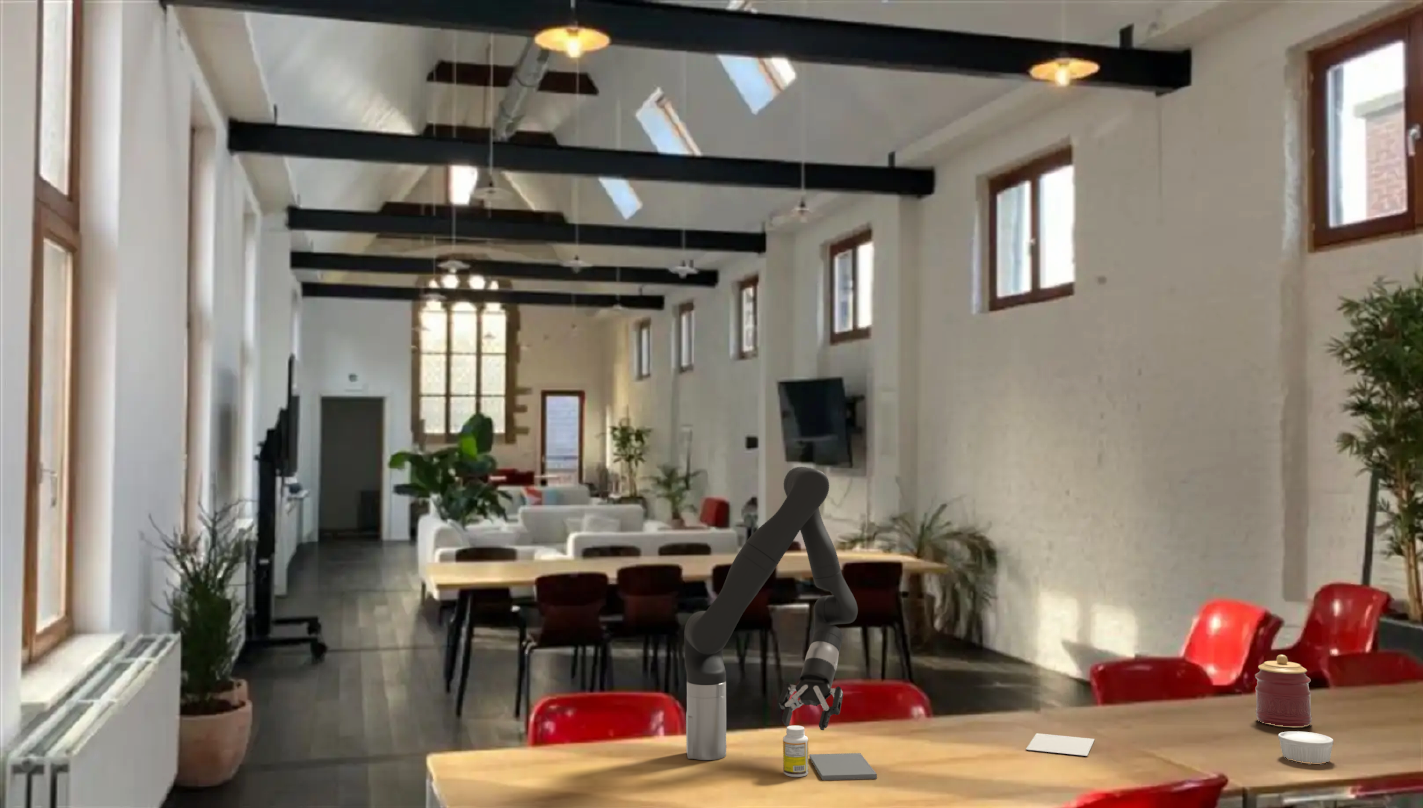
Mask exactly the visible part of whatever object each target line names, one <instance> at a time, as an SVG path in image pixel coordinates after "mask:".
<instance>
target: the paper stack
mask: <svg viewBox="0 0 1423 808" xmlns="http://www.w3.org/2000/svg"><path fill="white" fill-rule="evenodd" d="M1094 742H1095V738H1089V737H1079V736H1068V735H1059V734H1058V735H1057V734H1050V733H1049V734H1047V733H1037V732H1036V733H1035V735H1034V736H1033V737H1032V739H1031V741H1030V742H1029V743H1028V745H1027V747H1026V748H1025V750H1028V751H1037V752H1044V753H1045V752H1046V753H1047V752H1048V753H1058V754H1067V755H1075V756H1085V757H1086V756H1087V757H1088V756H1089V753H1090V752H1091V751H1090V750H1091V748H1092V747H1093V744H1094Z"/></svg>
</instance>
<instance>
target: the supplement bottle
mask: <svg viewBox="0 0 1423 808" xmlns="http://www.w3.org/2000/svg"><path fill="white" fill-rule="evenodd" d="M785 731H786V734H785V735H784V736H783V738H782V739H783V740H782V747H783V748H782V752H783V753H782V755H783V757H782V759H783V760H782V761H783V763H782V764H783V767H782V768H783V774H784V775H786V776H788V777H789V778H790V777H791V778H802V777H806V776H807V775H808V774H809V738H808V736H807V735H805V733H806V732H805V727H804V726H802V725H789V726H786V729H785Z"/></svg>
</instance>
